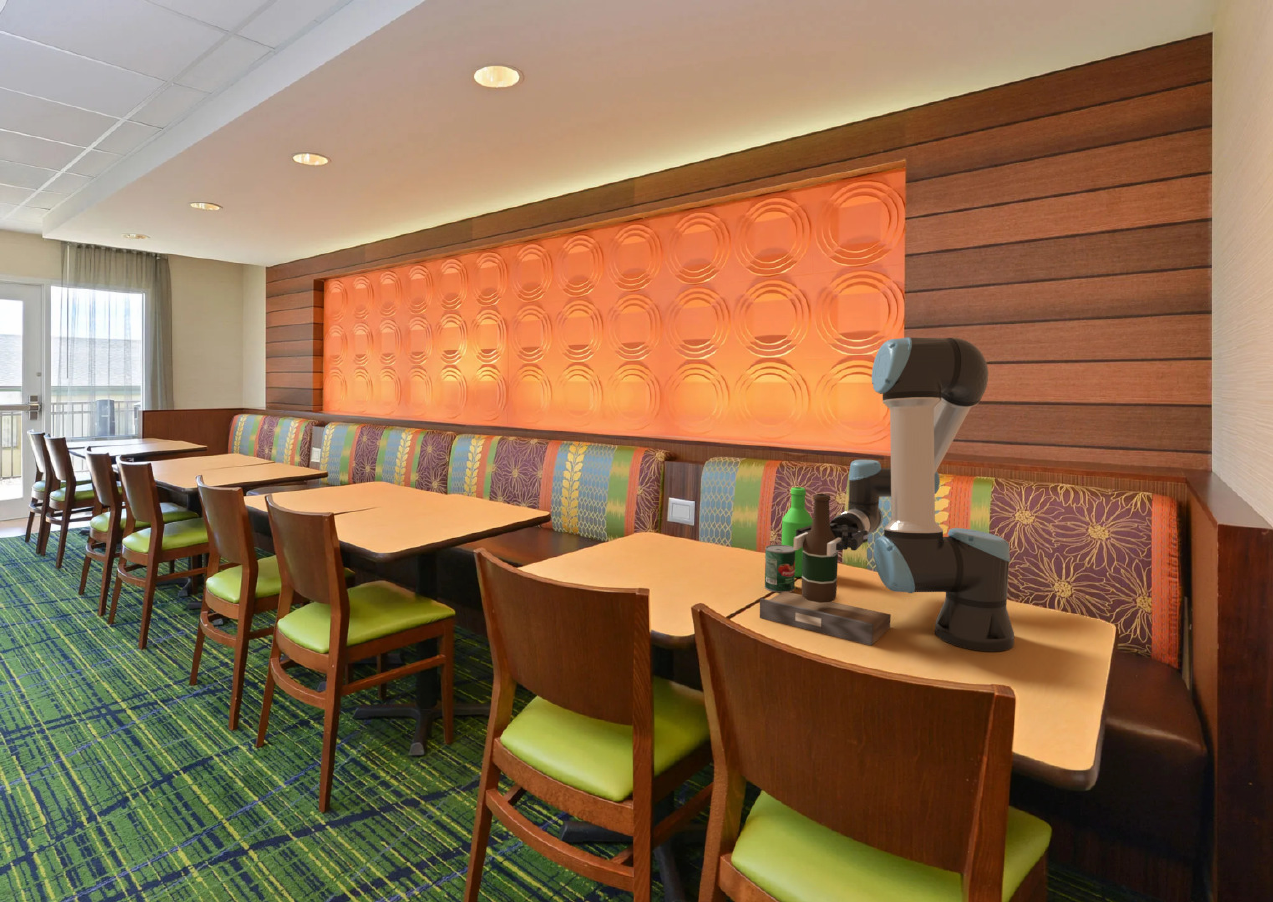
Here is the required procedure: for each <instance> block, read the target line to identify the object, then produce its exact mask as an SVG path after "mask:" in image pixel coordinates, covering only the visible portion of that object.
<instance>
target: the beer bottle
mask: <svg viewBox="0 0 1273 902" xmlns="http://www.w3.org/2000/svg"><path fill="white" fill-rule="evenodd" d="M813 501H814V504H813V513H812V514H813V515H812V519H813V523H812V527H811V530H810V531H809V533H808V534H807V535H806V537H805V540H804V543H803V556H802V577H801V595H802V596H803V597H804V598H806V599H807V600H809V601H814V602H819V603H823V602H834V600H835V599H836V597H837V589H838V565H839V563H838V561H839V551H838V552H836V553H835V554H833V555H831V556H827V543H829V542H831V541H833V540H835V539H836V537H835V536H834V534H833V533H832V531H831V528H830V522H831V519H830V518H831V517H830V501H831V496H830V495H829V494H826V493H816V494H814V496H813Z"/></svg>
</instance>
